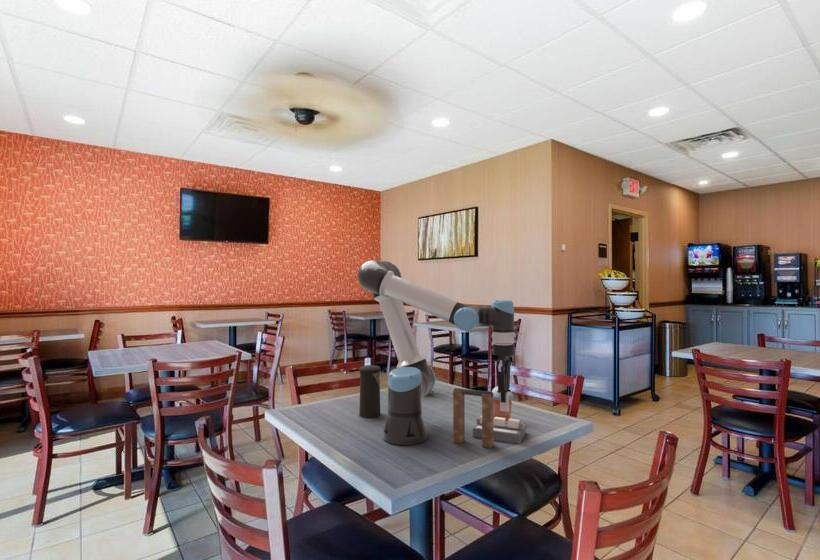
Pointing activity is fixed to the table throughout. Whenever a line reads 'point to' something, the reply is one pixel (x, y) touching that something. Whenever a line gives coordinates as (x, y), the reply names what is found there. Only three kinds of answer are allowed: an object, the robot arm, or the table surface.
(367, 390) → the container
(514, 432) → the breaker panel
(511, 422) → the breaker paddles
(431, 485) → the table surface
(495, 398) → the cup with straw
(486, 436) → the posts
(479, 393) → the dark grey rod
